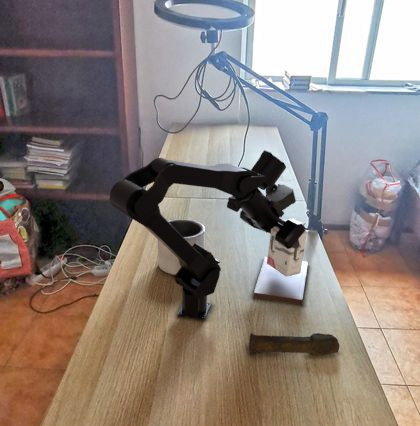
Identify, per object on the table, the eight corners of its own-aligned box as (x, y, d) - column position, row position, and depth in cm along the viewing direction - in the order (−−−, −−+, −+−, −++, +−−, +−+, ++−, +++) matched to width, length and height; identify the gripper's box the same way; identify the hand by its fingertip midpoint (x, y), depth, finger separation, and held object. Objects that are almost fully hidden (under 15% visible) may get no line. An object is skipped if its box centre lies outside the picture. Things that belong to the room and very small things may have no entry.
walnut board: (301, 305, 119) (302, 299, 118) (253, 297, 121) (253, 292, 120) (307, 266, 135) (308, 261, 134) (264, 260, 137) (264, 255, 136)
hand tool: (248, 356, 102) (250, 339, 99) (248, 344, 105) (250, 327, 102) (339, 362, 101) (343, 344, 99) (336, 350, 105) (340, 332, 102)
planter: (180, 282, 125) (180, 243, 119) (148, 265, 132) (146, 227, 126) (213, 266, 133) (215, 228, 127) (182, 250, 140) (182, 214, 134)
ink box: (265, 263, 129) (271, 221, 122) (279, 260, 131) (286, 218, 125) (286, 278, 123) (293, 234, 116) (301, 274, 125) (309, 230, 119)
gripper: (305, 190, 104) (333, 228, 115) (253, 165, 117) (283, 202, 128) (271, 231, 105) (303, 265, 116) (224, 202, 118) (256, 235, 129)
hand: (286, 239), depth 122 cm, fingers closed on ink box, 8 cm apart
